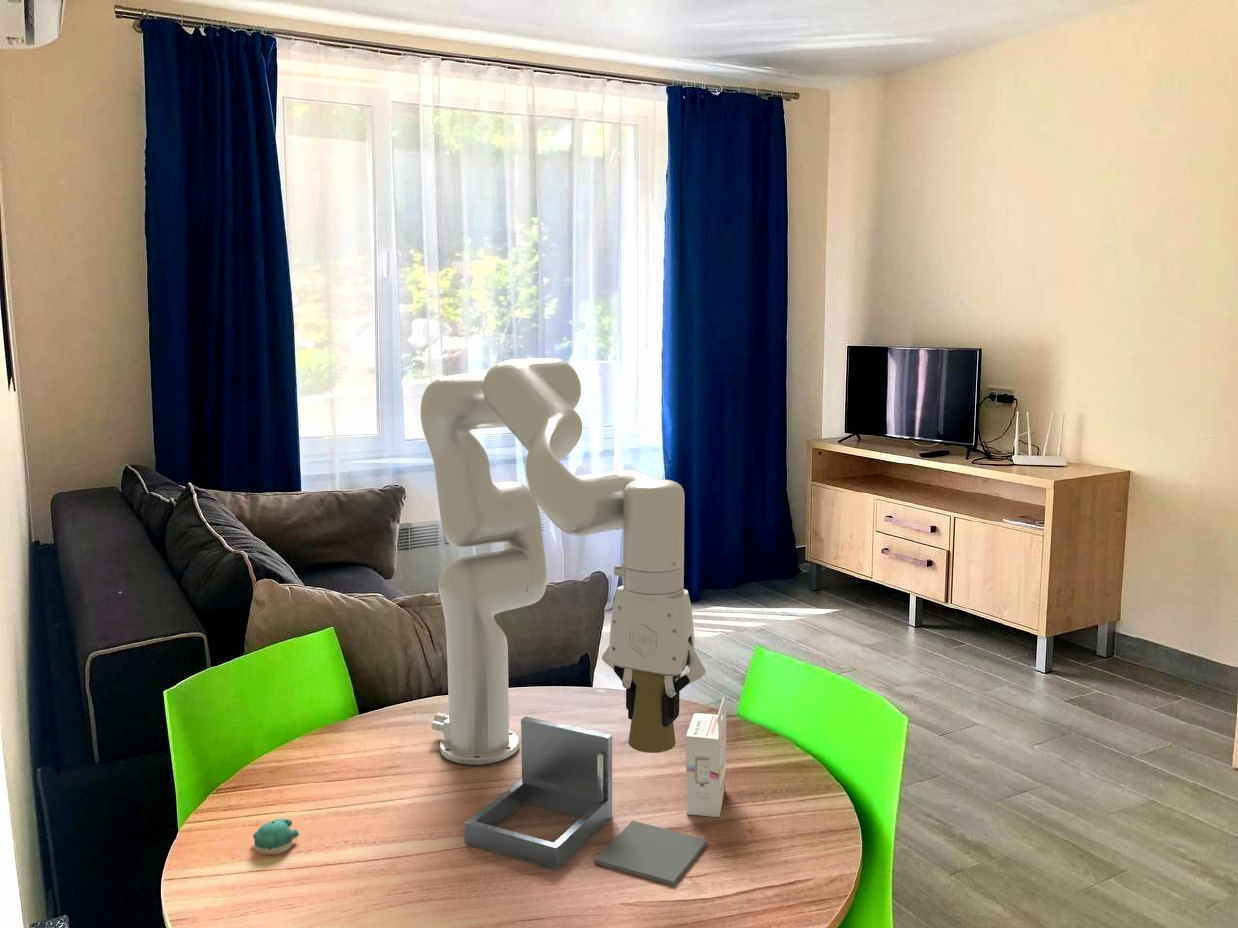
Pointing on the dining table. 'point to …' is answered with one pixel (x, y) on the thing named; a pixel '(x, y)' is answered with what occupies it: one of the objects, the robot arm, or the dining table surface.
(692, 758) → the ink cartridge box
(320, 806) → the dining table surface
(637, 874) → the rubber mat
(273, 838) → the whale figurine
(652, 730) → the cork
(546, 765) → the open lid tray
